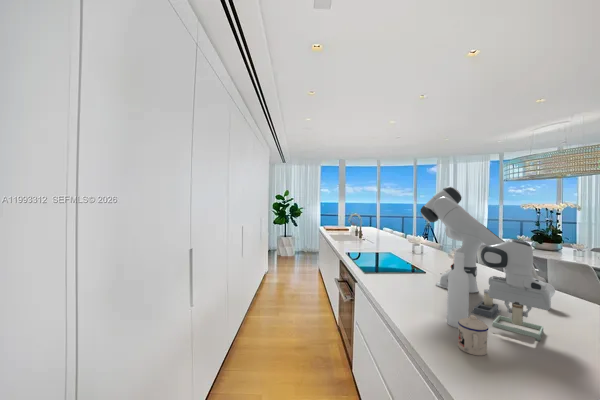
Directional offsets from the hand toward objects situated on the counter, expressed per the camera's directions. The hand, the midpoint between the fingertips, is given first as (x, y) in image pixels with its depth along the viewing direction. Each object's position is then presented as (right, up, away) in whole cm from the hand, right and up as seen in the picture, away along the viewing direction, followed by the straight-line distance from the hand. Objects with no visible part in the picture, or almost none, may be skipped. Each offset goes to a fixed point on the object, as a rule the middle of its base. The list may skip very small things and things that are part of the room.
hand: (517, 314), depth 119 cm
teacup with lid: (-29, -6, -18) cm, 34 cm away
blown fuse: (0, -4, 0) cm, 4 cm away
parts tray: (0, -6, 0) cm, 6 cm away
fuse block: (-2, -6, +17) cm, 18 cm away
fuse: (+1, -5, +20) cm, 21 cm away
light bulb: (+36, -8, +29) cm, 47 cm away
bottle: (-22, -6, +4) cm, 23 cm away
